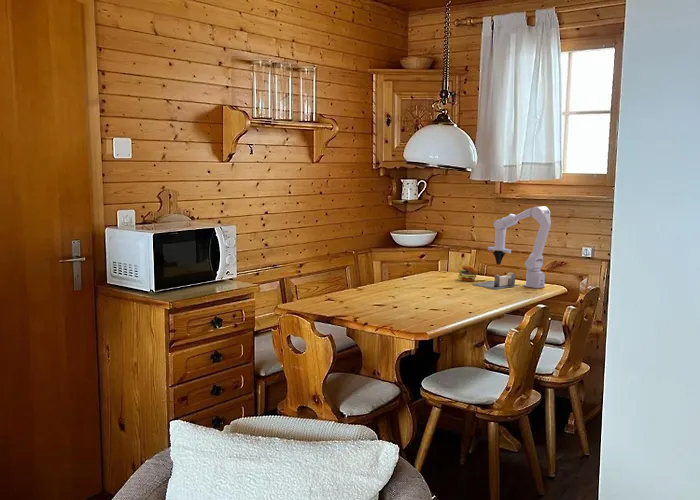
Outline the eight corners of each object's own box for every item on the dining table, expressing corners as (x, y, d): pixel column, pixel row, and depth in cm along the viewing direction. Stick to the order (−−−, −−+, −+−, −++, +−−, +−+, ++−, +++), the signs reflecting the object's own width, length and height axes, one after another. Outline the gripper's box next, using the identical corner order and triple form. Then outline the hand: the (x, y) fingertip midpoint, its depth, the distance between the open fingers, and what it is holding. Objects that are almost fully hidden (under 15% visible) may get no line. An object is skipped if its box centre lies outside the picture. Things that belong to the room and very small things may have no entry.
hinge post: (499, 287, 375) (500, 275, 374) (496, 287, 373) (497, 275, 372) (495, 286, 377) (496, 274, 376) (493, 286, 375) (493, 275, 374)
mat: (517, 286, 383) (517, 285, 383) (496, 289, 370) (496, 288, 370) (493, 281, 395) (493, 280, 395) (472, 285, 382) (472, 283, 382)
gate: (499, 286, 375) (500, 275, 374) (496, 285, 377) (497, 274, 376) (511, 284, 382) (511, 273, 381) (508, 284, 383) (508, 273, 382)
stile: (517, 285, 382) (518, 273, 381) (510, 286, 378) (511, 274, 377) (510, 283, 386) (510, 272, 385) (503, 285, 382) (504, 273, 381)
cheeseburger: (453, 279, 398) (457, 262, 398) (468, 282, 403) (472, 265, 403) (463, 281, 389) (467, 264, 389) (478, 285, 394) (482, 268, 394)
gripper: (514, 241, 393) (513, 265, 395) (493, 238, 404) (492, 262, 405) (507, 242, 388) (505, 266, 390) (486, 239, 399) (484, 263, 401)
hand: (498, 264), depth 397 cm, fingers closed
